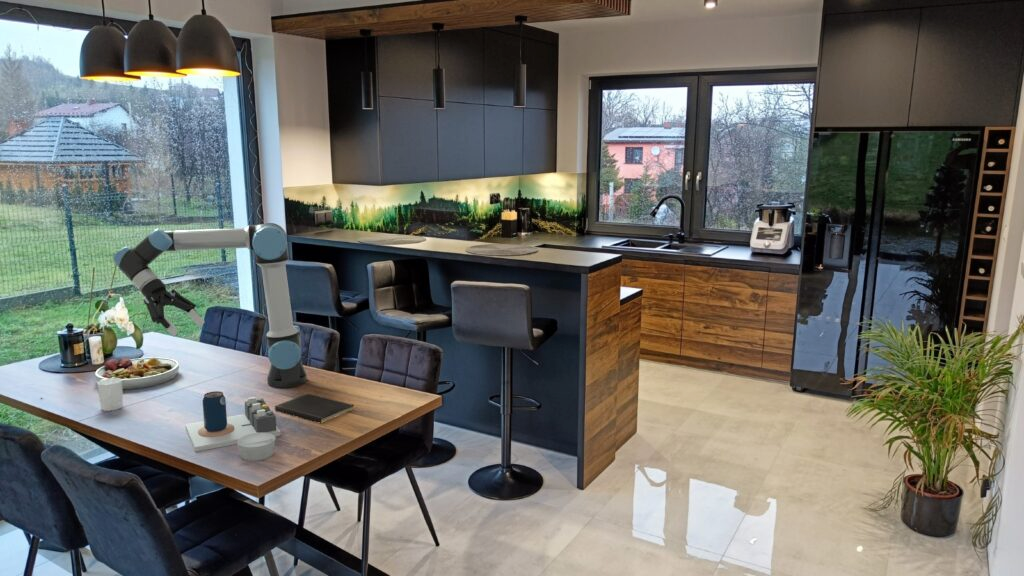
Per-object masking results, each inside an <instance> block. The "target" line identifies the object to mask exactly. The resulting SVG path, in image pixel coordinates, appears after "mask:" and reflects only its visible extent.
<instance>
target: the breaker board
mask: <svg viewBox="0 0 1024 576" xmlns="http://www.w3.org/2000/svg"><path fill="white" fill-rule="evenodd" d="M276 417H277V416H276V414H275V413H274V411H273V410H271V408H270V406H269V404H267V402H266V401H265V400H264V398H263V397H261V398H257V397H256V396H251V397H247V401H244V414H243V413H242V414H238V415H236V414H235V415H230V416H227V426H226V428H225V429H224V430H223V431H220V432H208V431H207V430H206V429H205V427H204V420H202V421H195V422H189V423H185V424H184V425H185V426H184V429H185V428H186V429H185V431H186V433H187V435H188V438H189V440H190V443H191V446H192V447H193V450H194V451H195V452H201V451H206V450H211V449H218V448H223V447H228V446H233V445H237V441H238V440H239V439H240V438H241V437H243V436H245V435H248V434H252V433H270V434H273V435H274V436H275V438H276V437H280V436H282V432H281V430H280V428H279V427H278V425H277V418H276Z"/></svg>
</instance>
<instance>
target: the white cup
mask: <svg viewBox="0 0 1024 576" xmlns="http://www.w3.org/2000/svg"><path fill="white" fill-rule="evenodd" d="M96 385H97V393H98V398H99V402H100V408H101V410H102V411H104V412H108V411H109V412H111V410H112V411H116V410H120V409H122V408H123V406H124V404H123V403H124V402H123V400H124V399H123V394H124V393H123V391H124V390H123V389H122V379H120V378H108V379H103V380H100V381H97V382H96Z"/></svg>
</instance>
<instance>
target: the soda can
mask: <svg viewBox="0 0 1024 576" xmlns="http://www.w3.org/2000/svg"><path fill="white" fill-rule="evenodd" d="M226 403H227V402H226V396H225V395H224V392H223V391H220V390H219V391H209V392H206V393H204V395H203V398H202V408H203V409H202V411H203V413H202V414H203V421H204V427H205V429H206V430H207V431H208V432H220V431H223V430H224V429H225V428H226V426H227V417H228V416H227V404H226Z"/></svg>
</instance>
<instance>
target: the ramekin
mask: <svg viewBox="0 0 1024 576" xmlns="http://www.w3.org/2000/svg"><path fill="white" fill-rule="evenodd" d="M276 441H277V439H276V437H275V436H274V435H273V434H270V433H252V434H248V435H245V436H243V437H241V438H240V439H239V440H238V441H237V444H236V446H237V447H238V452H239V454H240V457H241V459H242V460H244V461H247V462H260V461H263V460H267V459H270V458H271V457H272V456H273V455H274V453H275V444H276Z"/></svg>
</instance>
